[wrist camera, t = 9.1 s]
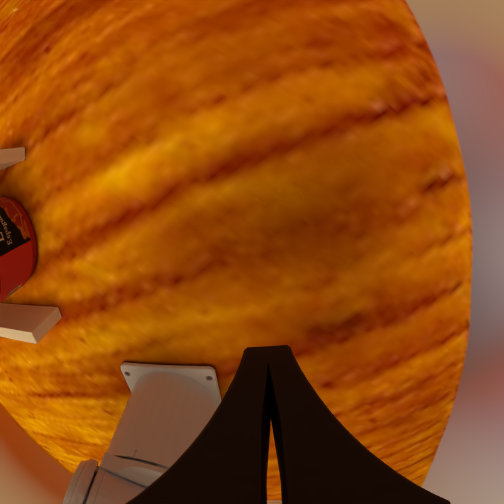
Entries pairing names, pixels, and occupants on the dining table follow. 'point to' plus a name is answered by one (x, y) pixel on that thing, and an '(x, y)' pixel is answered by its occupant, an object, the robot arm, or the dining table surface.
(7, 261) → the canned food
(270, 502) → the honey pot
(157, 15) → the dining table surface
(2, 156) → the shelf bay
